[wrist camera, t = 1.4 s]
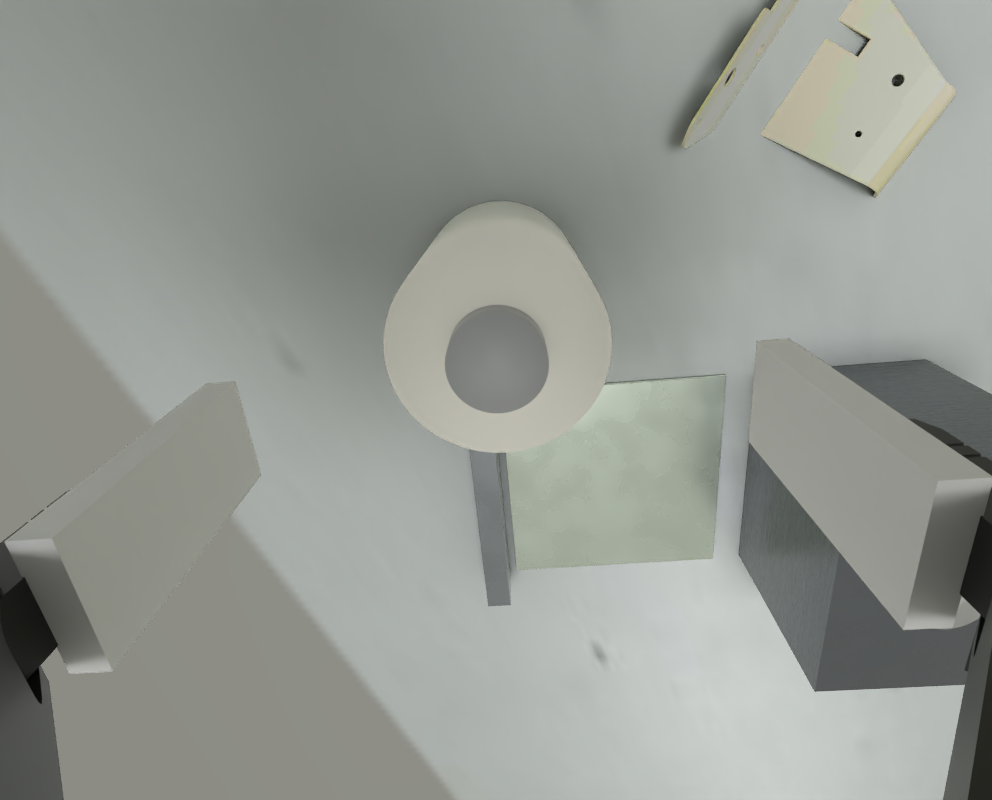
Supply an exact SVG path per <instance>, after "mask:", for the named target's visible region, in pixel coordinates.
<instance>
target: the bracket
mask: <svg viewBox="0 0 992 800" xmlns="http://www.w3.org/2000/svg"><path fill="white" fill-rule="evenodd" d="M797 2H798V0H777V1H776V2H775V4H774V5H773V7H772V8H771V10H770V11H769V9H768V8H764V9H763V10H762V11H761V13H760V14H759V16H758V17H757V19H756V21H755V22H754V24H753V25H752V27H751V29H750V30H749V32H748V33H747V35H746V36H745V38H744V40H743V41H742V43H741V44H740V46H739V47H738V49H737V51H736V52H735V54H734V55H733V57H732V58H731V60H730V62H729V63H728V65H727V66H726V68H725V70H724V71H723V73H722V74H721V76H720V77H719V79H718V81H717V82H716V84H715V85H714V87H713V88H712V90H711V92H710V93H709V95H708V96H707V98H706V99H705V101H704V103H703V104H702V106H701V107H700V109H699V110H698V112H697V114H696V115H695V117H694V118H693V120H692V122H691V123H690V125H689V127H688V129H687V132H686V134H685V137H684V139H683V142H682V147H683V148H684V149H687V148H689V147H690V146H692V145H693V144H694V143H696V142H697V141H699V140H700V139H702V138H703V137H705V136H706V135H708V134H709V133H711V132H712V131H713V130H714V129H715V128H716V126H717V124H718V123H719V121H720V120H721V118H722V117H723V115H724V114H725V112H726V111H727V109H728V108H729V106H730V105H731V103H732V101H733V100H734V98H735V97H736V95H737V94H738V92H739V91H740V89H741V88H742V86H743V85H744V83H745V82H746V80H747V79H748V77H749V75H750V74H751V72H752V71H753V69H754V68H755V66H756V65H757V63H758V62H759V60H760V59H761V57H762V56H763V54H764V52H765V51H766V49H767V48H768V46H769V45H770V43H771V42H772V40H773V39H774V37H775V36H776V34H777V33H778V31H779V29H780V28H781V26H782V25H783V23H784V22H785V20H786V19H787V17H788V16H789V14H790V13H791V11H792V10H793V8H794V6H795V5H796V3H797ZM838 20H839V21H840V22H841V23H843V24H844V25H845V26H847V27H849V28H850V29H852V30H854V31H856V32H857V33H859V34H861V35H863V36H864V37H866V38H868V39H869V42H868V43H867V45H866V46H865V47H864V49H863V50H862V52H861V53H860V55H859V56H858V57H857V56H855V55H854V54H852V53H850V52H849V51H847V50H845V49H843V48H842V47H840V46H838V45H837V44H835V43H833V42H831V41H830V40H828V39H826V38H825V40H824V41H823V43H822V44H821V46H820V47H819V49H818V50H817V52H816V53H815V55H814V56H813V58H812V59H811V60H810V62H809V63H808V65H807V66H806V68H805V69H804V71H803V72H802V74H801V75H800V77H799V78H798V80H797V81H796V83H795V84H794V86H793V87H792V89H791V90H790V91H789V93H788V94H787V96H786V97H785V99H784V100H783V102H782V103H781V105H780V106H779V108H778V109H777V111H776V112H775V114H774V115H773V117H772V118H771V119H770V121H769V122H768V124H767V125H766V127H765V128H764V130H763V131H762V133H761V134H760V135H762V136H764V137H766V138H768V139H769V140H772V141H774V142H776V143H778V144H780V145H782V146H784V147H786V148H788V149H790V150H792V151H795V152H797V153H799V154H801V155H803V156H805V157H807V158H809V159H811V160H813V161H815V162H817V163H820V164H822V165H824V166H826V167H828V168H830V169H832V170H834V171H836V172H838V173H840V174H843V175H845V176H847V177H849V178H851V179H853V180H855V181H857V182H859V183H861V184H863V185H865V186H867V187H869V188H871V189H872V190H873V191H875V194H874V196H873V197H875V198H876V197H877V195H878V194H879V193H880V192H881V190H882V189H883V188H884V186H885V185H886V184H887V183H888V181H889V180H890V179H891V178H892V176H893V175H894V174H895V173H896V171H897V170H898V169H899V167H900V166H901V165H902V164H903V162H904V161H905V160H906V159H907V157H908V156H909V155H910V154H911V152H912V151H913V150H914V148H915V147H916V146H917V145H918V143H919V142H920V141H921V140H922V138H923V137H924V136H925V135H926V133H927V132H928V131H929V129H930V128H931V127H932V126H933V124H934V123H935V122H936V120H937V119H938V118H939V116H940V115H941V114H942V113H943V111H944V110H945V109H946V108H947V106H948V105H949V104H950V102H951V101H952V100H953V98H954V97H955V95H956V90H955V89H954V88H953V87H952V86H951V85H950V84H948V83H947V82H946V80H945V79H944V78H943V76H942V75H941V73H940V72H939V70H938V69H937V67H936V66H935V64H934V63H933V61H932V60H931V58H930V57H929V55H928V54H927V53H926V51H925V50H924V48H923V47H922V45H921V44H920V42H919V41H918V39H917V38H916V36H915V35H914V33H913V32H912V30H911V29H910V28H909V26H908V25H907V23H906V22H905V20H904V19H903V17H902V16H901V14H900V13H899V11H898V10H897V8H896V7H895V5H894V4H893V2H892V1H891V0H851V2H850V3H849V4H848V6H847V7H846V9H845V10H844V12H843V13H842V15H841V16H840V18H839V19H838ZM759 48H760V49H759ZM733 69H734V70H733ZM732 70H733V73H732V75H731V77H730V79H729V81H728V82H727V83H726V84H725V82H726V80H727V78H728V76H729V74H730V73H731V72H732ZM895 75H902V76H903V79H904V80H903V83H902V84H901V85H900V86H898V87H896V86H893V85H892V78H893V77H894V76H895ZM857 131H860V132H861V136H860V137H856V136H855V133H856V132H857Z"/></svg>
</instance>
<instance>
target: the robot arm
mask: <svg viewBox="0 0 992 800" xmlns="http://www.w3.org/2000/svg"><path fill="white" fill-rule="evenodd" d="M748 441H749V443H750V444H751V445H752V446H753V447H754V449H755V450H756V451H757V452H758V454H759V455H760V456H761V457H762V458H763V460H764V461H765V462H766V463H767V465H768V466H769V467H770V468H771V469H772V471H773V472H774V473H775V474H776V475H777V477H778V478H779V479H780V480H781V482H782V483H783V484H784V485H785V486H786V488H787V489H788V490H789V491H790V493H791V494H792V495H793V496H794V497H795V499H796V500H797V501H798V502H799V504H800V505H801V506H802V507H803V508H804V510H805V511H806V512H807V513H808V515H809V516H810V517H811V518H812V519H813V521H814V522H815V523H816V524H817V525H818V527H819V528H820V529H821V530H822V532H823V533H824V534H825V535H826V536H827V538H828V539H829V540H830V541H831V543H832V544H833V545H834V546H835V547H836V549H837V550H838V551H839V552H840V554H841V555H842V556H843V557H844V558H845V560H846V561H847V562H848V563H849V564H850V566H851V567H852V568H853V569H854V571H855V572H856V573H857V574H858V575H859V577H860V578H861V579H862V580H863V582H864V583H865V584H866V585H867V586H868V588H869V589H870V590H871V591H872V593H873V594H874V595H875V596H876V597H877V599H878V600H879V601H880V602H881V604H882V605H883V606H884V607H885V608H886V610H887V611H888V612H889V613H890V614H891V616H892V617H893V618H894V619H895V621H896V622H897V623H898V624H899V625H900V627H901V628H902V629H903V630H915V629H934V628H953V625H954V622H955V618H956V614H957V611H958V607H959V604H960V600H961V596H962V597H963V598H964V599H965V600H966V601H967V602H968V603H969V604H970V605H971V606H972V607H973V608H974V609H975V610H976V611H977V612H978V613H979V614H980V618H979V622H978V625H977V629H976V632H975V635H974V639H973V642H972V645H971V649H970V652H969V656H968V659H967V662H966V666H965V669H964V670H965V671H967V672H968V673H967V678H966V683H965V688H964V693H963V699H962V704H961V709H960V714H959V719H958V725H957V730H956V735H955V740H954V745H953V751H952V756H951V761H950V766H949V771H948V777H947V782H946V787H945V792H944V797H943V800H992V461H991V460H990V459H988V458H987V457H981V454H980V453H979V452H977V451H976V450H974V449H973V448H971V447H970V446H968V445H966V446H964V443H963V442H962V441H960V440H959V439H957V438H956V437H954V436H953V435H951V434H949V433H948V432H946V431H945V430H943V429H941V428H938V427H935V426H933V425H930V424H927V423H925V422H922V421H919V420H917V419H907V418H906V417H904V416H903V415H901V414H900V413H898V412H897V411H895V410H894V409H892V408H891V407H890V406H888V405H887V404H885V403H884V402H882V401H881V400H879V399H878V398H876V397H875V396H873V395H872V394H870V393H869V392H867V391H866V390H864V389H863V388H861V387H860V386H859V385H857V384H856V383H854V382H853V381H851V380H850V379H848V378H847V377H845V376H844V375H842V374H841V373H839V372H838V371H836V370H835V369H833V368H832V367H830V366H829V365H828V364H826V363H825V362H823V361H822V360H820V359H819V358H817V357H816V356H814V355H813V354H811V353H810V352H808V351H807V350H805V349H804V348H802V347H801V346H799V345H798V344H797V343H795V342H794V341H792V340H791V339H789V338H787V339H774V340H762V341H757V347H756V358H755V370H754V381H753V393H752V405H751V416H750V428H749V439H748ZM260 476H261V472H260V469H259V465H258V461H257V458H256V454H255V451H254V447H253V443H252V440H251V436H250V433H249V429H248V426H247V422H246V418H245V415H244V411H243V408H242V404H241V400H240V397H239V393H238V390H237V386H236V382H235V381H234V382H221V383H208V384H205V385H204V386H202V387H201V388H200V389H199V390H197V391H196V392H195V393H194V394H192V395H191V396H190V397H188V398H187V399H186V400H185V401H183V402H182V403H181V404H179V405H178V406H177V407H176V408H174V409H173V410H172V411H170V412H169V413H168V414H167V415H165V416H164V417H163V418H162V419H160V420H159V421H158V422H156V423H155V424H154V425H153V426H151V427H150V428H149V429H147V430H146V431H145V432H144V433H142V434H141V435H140V436H138V437H137V438H136V439H135V440H134V441H132V442H131V443H130V444H128V445H127V446H126V447H124V448H123V449H122V450H121V451H119V452H118V453H117V454H115V455H114V456H113V457H112V458H110V459H109V460H108V461H107V462H105V463H104V464H103V465H101V466H100V467H99V468H98V469H96V470H95V471H94V472H92V473H91V474H90V475H89V476H87V477H86V478H85V479H83V480H82V481H81V482H80V483H79V484H77V485H76V486H75V487H73V488H72V489H71V490H69V491H67V492H65V493H64V494H63V495H62V496H60V497H59V498H58V499H57V500H55V501H54V502H53V503H51V504H50V505H49V506H47V508H46V509H45V510H42V511H41V512H40V513H38V514H37V515H36V516H35V517H33V518H32V519H31V521H30V522H27V523H26V524H24V525H23V526H22V527H20V528H19V529H18V530H17V531H15V532H14V533H13V534H12V535H10V536H9V537H8V538H6V539H5V540H4V541H3V542H1V543H0V800H64V799H63V791H62V782H61V774H60V767H59V758H58V750H57V743H56V735H55V727H54V719H53V710H52V703H51V694H50V687H49V681H48V679H47V677H46V675H45V673H44V671H43V670H42V668H41V666H40V665H41V664H42V663H43V662H44V661H45V660H46V658H47V657H48V656H49V655H50V654H51V653H52V652H53V650H55V648H56V647H57V648H58V651H59V653H60V655H61V657H62V659H63V661H64V663H65V665H66V667H67V669H68V671H69V673H70V674H75V673H93V672H112V671H113V670H114V669H115V668H116V667H117V665H118V664H119V663H120V661H121V660H122V659H123V657H124V656H125V655H126V653H127V652H128V651H129V649H130V648H131V647H132V645H133V644H134V642H135V641H136V640H137V639H138V637H139V636H140V635H141V634H142V632H143V631H144V630H145V628H146V627H147V626H148V624H149V623H150V622H151V620H152V619H153V618H154V616H155V615H156V614H157V612H158V611H159V610H160V608H161V607H162V606H163V604H164V603H165V602H166V600H167V599H168V598H169V596H170V595H171V594H172V592H173V591H174V590H175V588H176V587H177V586H178V584H179V583H180V582H181V580H182V579H183V578H184V576H185V575H186V574H187V572H188V571H189V570H190V569H191V567H192V566H193V565H194V563H195V562H196V561H197V559H198V558H199V556H200V555H201V554H202V553H203V551H204V550H205V549H206V547H207V546H208V545H209V543H210V542H211V540H212V539H213V538H214V537H215V535H216V534H217V533H218V531H219V530H220V529H221V527H222V526H223V525H224V523H225V522H226V521H227V519H228V518H229V517H230V516H231V514H232V513H233V512H234V510H235V509H236V508H237V506H238V505H239V504H240V502H241V501H242V500H243V498H244V497H245V496H246V494H247V493H248V492H249V490H250V489H251V488H252V486H253V485H254V484H255V482H256V481H257V480H258V478H259V477H260Z"/></svg>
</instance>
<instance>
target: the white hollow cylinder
mask: <svg viewBox="0 0 992 800" xmlns="http://www.w3.org/2000/svg"><path fill="white" fill-rule="evenodd" d="M383 349H384V358H385V364H386V368H387V372H388V376H389V378H390V381H391V383H392V386H393V388H394V390H395V392H396V394H397V396H398V397H399V399H400V401H401V402H402V404H403V405H404V406H405V408H406V409H407V410H408V412H409V413H410V414H411V415H412V416H413V417H414V418H415V419H416V420H417V421H418V422H419V423H420V424H421V425H423V426H424V427H425V428H426V429H428V430H429V431H430V432H432V433H433V434H435V435H437V436H438V437H440V438H442V439H444V440H446V441H448V442H450V443H452V444H455V445H458V446H460V447H463V448H467V449H471V450H476V451H481V452H491V453H507V452H515V451H522V450H526V449H530V448H534V447H536V446H539V445H542V444H544V443H547V442H549V441H551V440H553V439H555V438H557V437H559V436H560V435H562V434H563V433H565V432H566V431H567V430H569V429H570V428H572V427H573V426H574V425H575V424H576V423H577V422H578V421H580V420H581V419H582V417H583V416H584V415H585V414H586V413H587V412H588V411H589V410H590V408H591V407H592V405H593V404H594V402H595V401H596V399H597V398H598V396H599V394H600V392H601V390H602V388H603V386H604V384H605V381H606V378H607V375H608V372H609V368H610V363H611V357H612V333H611V326H610V322H609V317H608V314H607V311H606V308H605V306H604V303H603V301H602V299H601V297H600V295H599V293H598V291H597V290H596V288H595V286H594V284H593V283H592V281H591V279H590V277H589V276H588V274H587V272H586V271H585V269H584V267H583V266H582V264H581V262H580V260H579V259H578V257H577V255H576V254H575V252H574V250H573V249H572V247H571V245H570V243H569V242H568V240H567V238H566V237H565V235H564V234H563V232H562V231H561V230H560V228H559V227H558V226H557V225H556V224H555V223H554V222H553V221H552V220H551V219H549V218H548V217H547V216H546V215H544V214H543V213H541V212H539V211H538V210H536V209H534V208H532V207H529V206H527V205H524V204H520V203H516V202H509V201H492V202H486V203H482V204H478V205H475V206H473V207H470V208H468V209H466V210H464V211H462V212H461V213H459V214H458V215H456V216H455V217H454V218H453V219H451V220H450V221H449V222H448V223H447V224H446V225H445V226H444V227H443V228H442V230H441V231H440V232H439V234H438V235H437V236H436V238H435V239H434V241H433V242H432V243H431V245H430V246H429V247H428V249H427V250H426V252H425V253H424V254H423V256H422V257H421V258H420V260H419V261H418V263H417V264H416V265H415V267H414V268H413V270H412V271H411V272H410V274H409V275H408V276H407V278H406V279H405V281H404V282H403V284H402V285H401V287H400V288H399V290H398V291H397V293H396V295H395V297H394V299H393V301H392V303H391V306H390V309H389V312H388V315H387V318H386V323H385V329H384V343H383Z"/></svg>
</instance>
